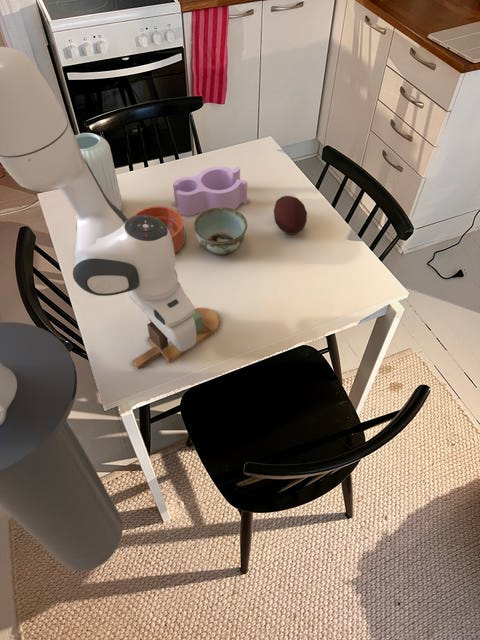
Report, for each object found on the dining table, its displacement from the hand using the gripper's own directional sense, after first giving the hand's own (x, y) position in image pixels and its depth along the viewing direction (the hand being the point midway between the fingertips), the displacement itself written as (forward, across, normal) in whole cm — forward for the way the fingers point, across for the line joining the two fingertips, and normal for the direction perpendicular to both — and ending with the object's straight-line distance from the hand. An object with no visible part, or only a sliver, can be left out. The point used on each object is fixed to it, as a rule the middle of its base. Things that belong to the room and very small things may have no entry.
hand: (163, 334), depth 108 cm
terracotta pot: (+4, -30, +19) cm, 36 cm away
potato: (+4, -12, +49) cm, 51 cm away
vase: (+5, -50, +14) cm, 52 cm away
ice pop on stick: (+5, 0, +3) cm, 6 cm away
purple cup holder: (+4, -35, +40) cm, 53 cm away
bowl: (+4, -18, +30) cm, 35 cm away
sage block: (+4, 0, +7) cm, 8 cm away
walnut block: (+1, 0, 0) cm, 1 cm away
